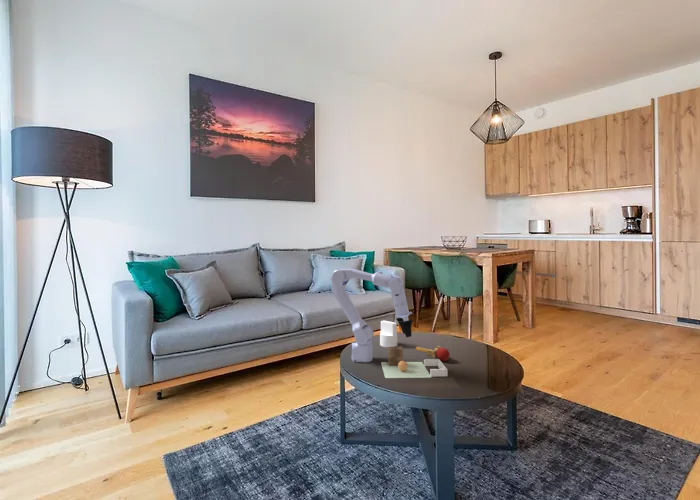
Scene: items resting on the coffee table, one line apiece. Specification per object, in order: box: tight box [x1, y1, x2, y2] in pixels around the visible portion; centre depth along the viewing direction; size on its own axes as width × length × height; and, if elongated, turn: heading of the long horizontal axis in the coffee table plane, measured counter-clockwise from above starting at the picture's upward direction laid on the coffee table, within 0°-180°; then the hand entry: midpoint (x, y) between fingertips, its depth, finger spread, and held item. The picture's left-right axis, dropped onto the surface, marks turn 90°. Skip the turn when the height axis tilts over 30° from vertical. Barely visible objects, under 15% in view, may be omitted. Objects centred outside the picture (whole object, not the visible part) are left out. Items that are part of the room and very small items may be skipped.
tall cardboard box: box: [387, 346, 404, 366], centre depth 145 cm, size 6×4×7 cm, turn 90°
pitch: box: [380, 358, 449, 379], centre depth 139 cm, size 24×17×4 cm
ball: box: [398, 360, 408, 371], centre depth 138 cm, size 4×4×4 cm
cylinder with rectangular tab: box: [379, 320, 398, 348], centre depth 178 cm, size 9×9×12 cm
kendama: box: [415, 345, 451, 362], centre depth 158 cm, size 8×6×18 cm
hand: (407, 334), depth 145 cm, fingers open, 7 cm apart
